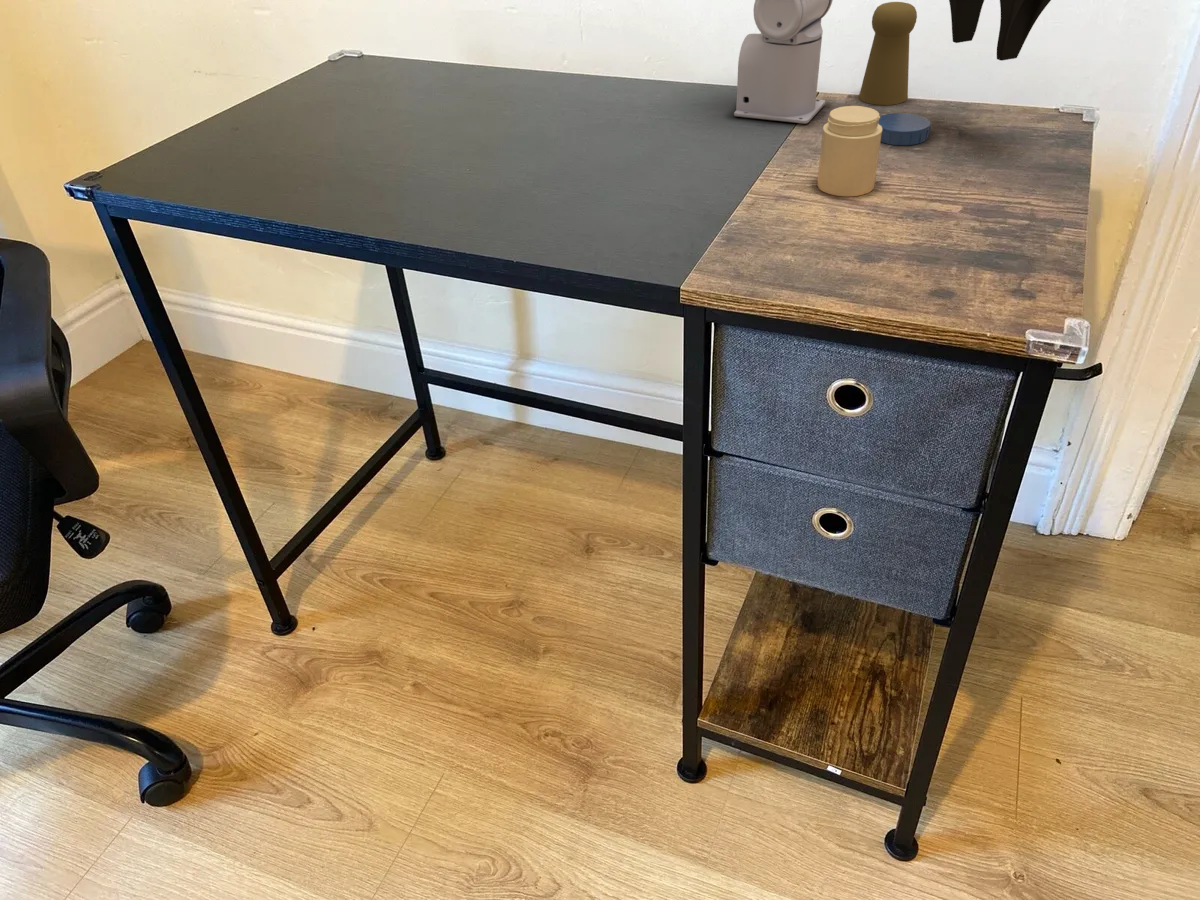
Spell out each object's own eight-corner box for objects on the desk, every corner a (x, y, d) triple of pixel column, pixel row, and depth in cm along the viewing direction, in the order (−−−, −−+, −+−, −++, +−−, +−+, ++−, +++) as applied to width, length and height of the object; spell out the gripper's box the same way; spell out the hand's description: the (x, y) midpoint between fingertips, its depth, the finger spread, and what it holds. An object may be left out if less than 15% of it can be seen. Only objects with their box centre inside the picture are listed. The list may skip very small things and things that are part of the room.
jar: (811, 192, 91) (818, 120, 86) (824, 172, 95) (831, 102, 90) (867, 199, 89) (878, 126, 84) (879, 178, 93) (889, 106, 88)
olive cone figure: (909, 105, 110) (924, 9, 103) (859, 104, 111) (871, 10, 104) (906, 89, 114) (920, -3, 107) (858, 89, 115) (869, -3, 108)
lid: (939, 140, 100) (941, 126, 99) (891, 149, 99) (893, 134, 98) (908, 123, 105) (910, 109, 104) (862, 131, 103) (864, 118, 102)
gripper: (1102, -94, 81) (1062, 61, 90) (1001, -110, 92) (974, 29, 101) (1037, -85, 80) (1003, 71, 88) (943, -103, 91) (920, 37, 99)
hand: (983, 49), depth 94 cm, fingers open, 7 cm apart
